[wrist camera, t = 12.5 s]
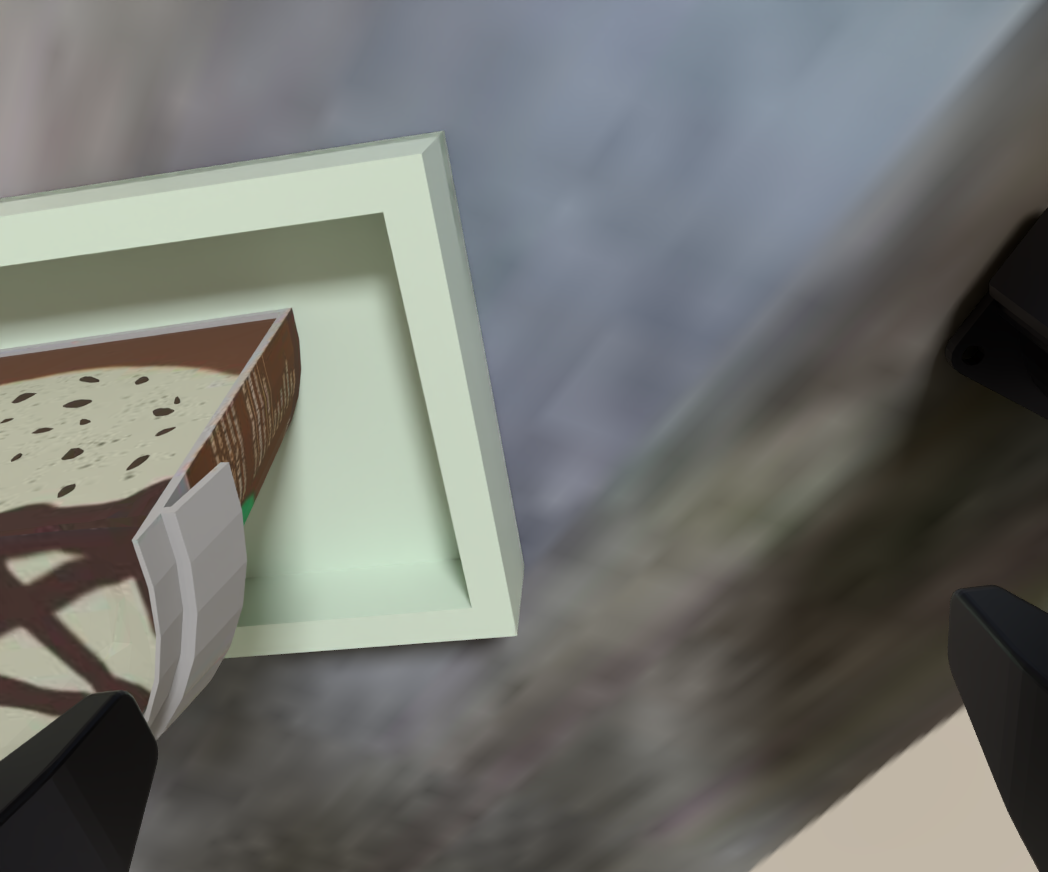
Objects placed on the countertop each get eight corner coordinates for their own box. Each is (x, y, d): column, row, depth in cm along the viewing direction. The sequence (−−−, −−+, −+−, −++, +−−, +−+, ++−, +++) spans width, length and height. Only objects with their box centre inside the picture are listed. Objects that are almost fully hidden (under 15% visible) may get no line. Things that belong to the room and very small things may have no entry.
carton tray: (444, 130, 19) (421, 153, 17) (524, 566, 25) (516, 635, 22) (-257, 237, 22) (-375, 272, 19) (-44, 615, 27) (-113, 684, 24)
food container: (-5, 561, 25) (-332, 878, 16) (-110, 364, 22) (-575, 616, 13) (409, 516, 23) (300, 842, 14) (351, 298, 21) (173, 536, 12)
